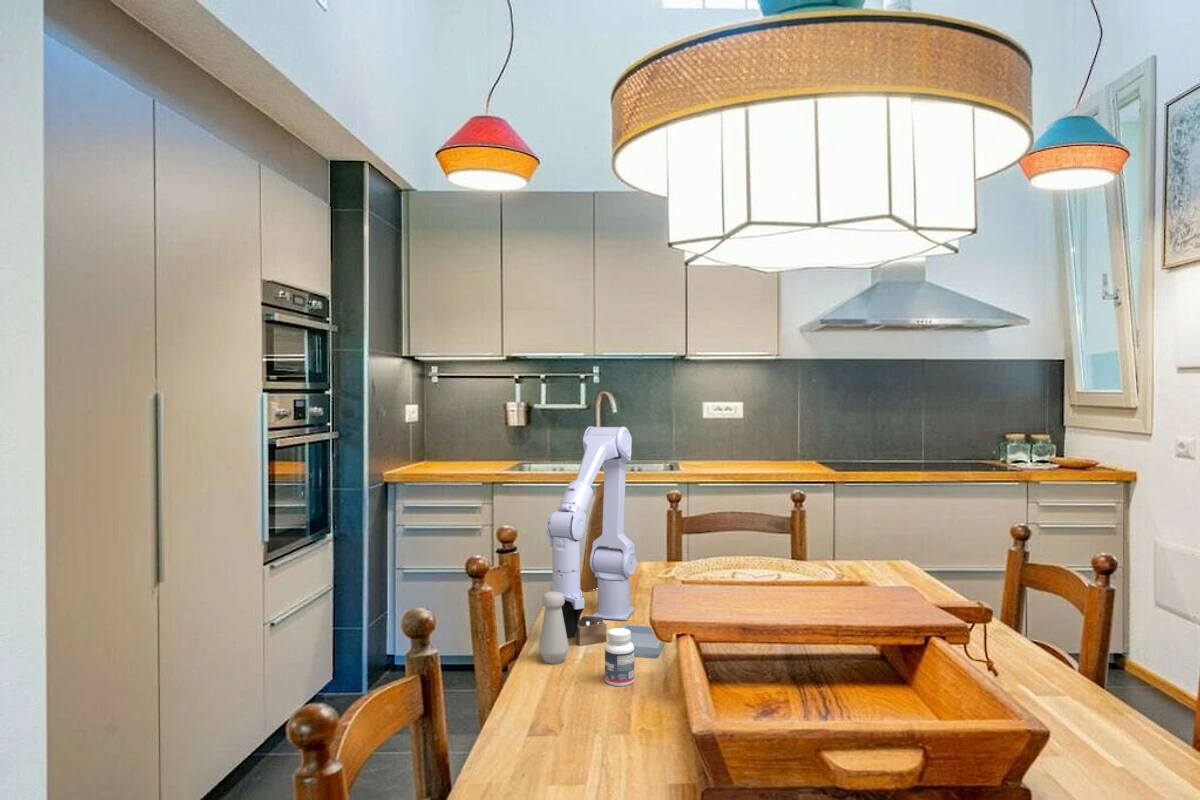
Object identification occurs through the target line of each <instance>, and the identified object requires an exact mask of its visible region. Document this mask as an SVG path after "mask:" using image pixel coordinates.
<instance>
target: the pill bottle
mask: <svg viewBox="0 0 1200 800" xmlns="http://www.w3.org/2000/svg"><path fill="white" fill-rule="evenodd" d="M630 638H631V632H630V630H628V629H625V628H622V627H616V628H611V629H609V630H608V634H607V640H608V642H606V644H605V646H604V680H605V683H607V684H608V685H610V686H615V687H624V686H625V687H626V686H629V685H632V684H633V683H634V682H635V656H634V646H633V644H632V643H631V642H630Z"/></svg>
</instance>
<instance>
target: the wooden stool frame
mask: <svg viewBox="0 0 1200 800" xmlns="http://www.w3.org/2000/svg"><path fill="white" fill-rule="evenodd" d="M567 639H568V645H569V646H570V645H575V644H576V645H578V646H579V647H583V646H588V645H595V644H600V643H601V644H602V643H608V642H607V640H608V634H607V623H605V622H604V621H603V622H591V625H588V626H583V622H582V617H580V618H579V621H578V625H577V630H576V634H575V637H572V638H567Z"/></svg>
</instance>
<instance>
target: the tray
mask: <svg viewBox="0 0 1200 800" xmlns="http://www.w3.org/2000/svg"><path fill="white" fill-rule="evenodd" d="M650 626H651V625H641V624H640V625H638V624H625V623H624V624H622V626H621V628H625V629H628V630H630V632H631V638H630V642H631V643H632V644H633V646H634V658H635V657H637V658H650V659H658V658H659V656H660V654H661V652H662V651H663V648H664V646H665V644H664V643H662V642H660V641H659V640H657V639H656V638H655V636H654V634H653V632H652V630H651V628H650Z"/></svg>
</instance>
